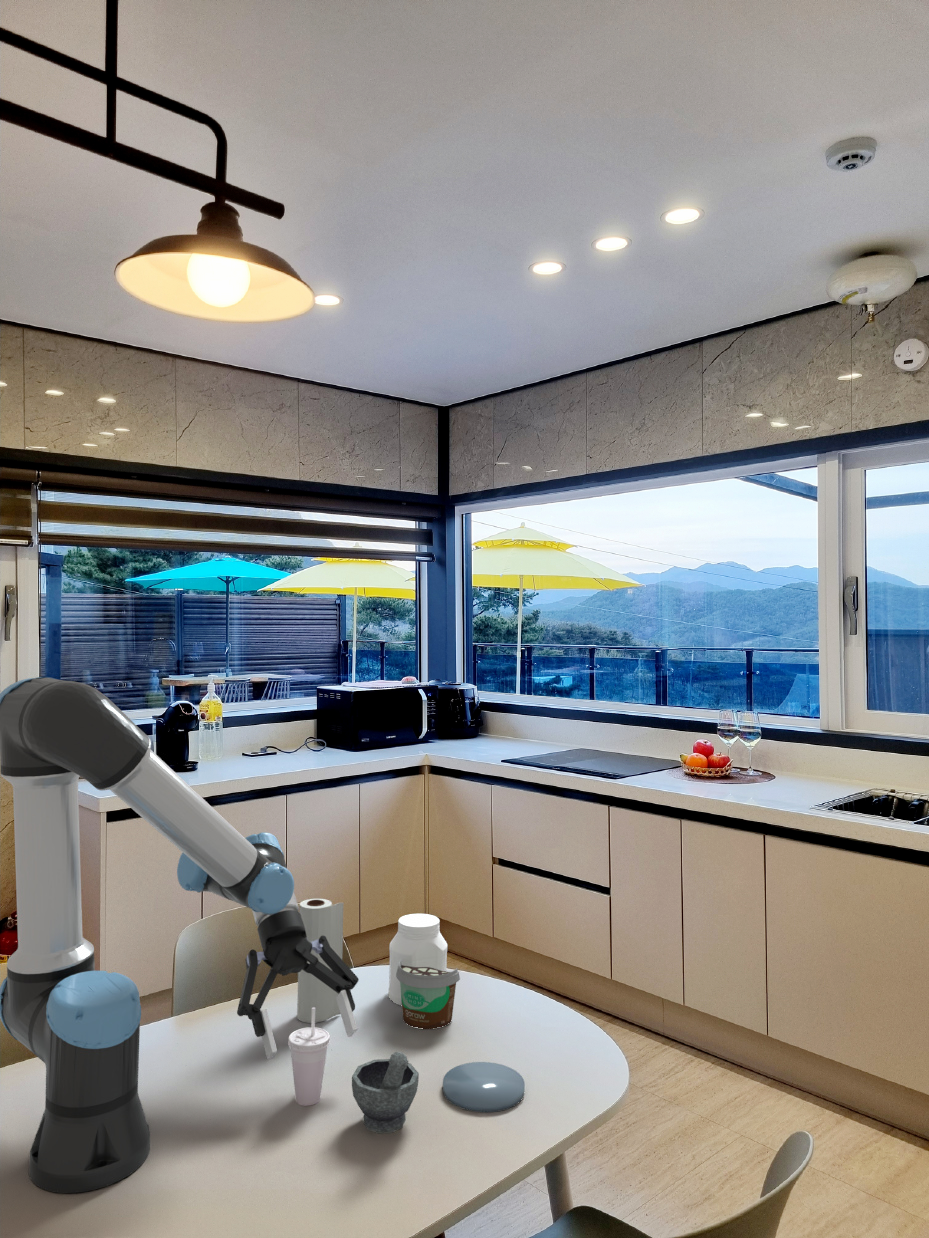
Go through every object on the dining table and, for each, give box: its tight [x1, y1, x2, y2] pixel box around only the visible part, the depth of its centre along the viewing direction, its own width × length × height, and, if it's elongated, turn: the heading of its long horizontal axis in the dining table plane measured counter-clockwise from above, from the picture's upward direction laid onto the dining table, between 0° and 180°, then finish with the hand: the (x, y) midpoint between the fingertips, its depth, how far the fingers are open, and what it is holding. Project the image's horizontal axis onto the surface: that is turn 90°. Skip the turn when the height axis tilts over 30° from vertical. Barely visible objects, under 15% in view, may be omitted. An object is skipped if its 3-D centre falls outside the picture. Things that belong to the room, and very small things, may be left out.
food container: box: [396, 961, 461, 1030], centre depth 161 cm, size 12×6×10 cm, turn 73°
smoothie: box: [287, 1007, 331, 1107], centre depth 135 cm, size 6×6×14 cm
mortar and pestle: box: [351, 1051, 420, 1134], centre depth 129 cm, size 11×9×12 cm
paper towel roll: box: [296, 898, 344, 1024], centre depth 163 cm, size 7×6×21 cm
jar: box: [387, 913, 448, 1006], centre depth 174 cm, size 12×10×15 cm
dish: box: [442, 1061, 526, 1113], centre depth 139 cm, size 13×13×1 cm
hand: (313, 1044), depth 136 cm, fingers open, 13 cm apart
